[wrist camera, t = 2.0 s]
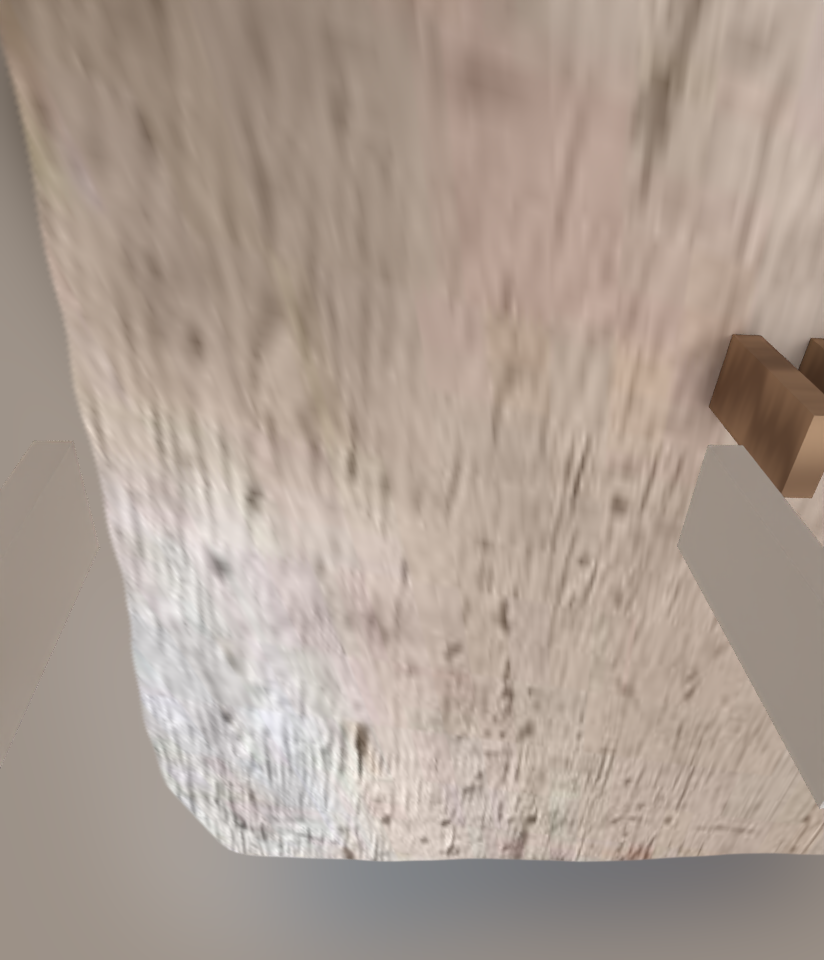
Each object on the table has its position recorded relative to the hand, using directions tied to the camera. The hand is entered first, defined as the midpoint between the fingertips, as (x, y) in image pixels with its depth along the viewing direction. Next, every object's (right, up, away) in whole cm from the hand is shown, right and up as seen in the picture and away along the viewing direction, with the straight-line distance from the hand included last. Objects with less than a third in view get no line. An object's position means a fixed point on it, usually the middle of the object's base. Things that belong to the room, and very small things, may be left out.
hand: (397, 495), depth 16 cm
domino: (+20, +7, +31) cm, 38 cm away
